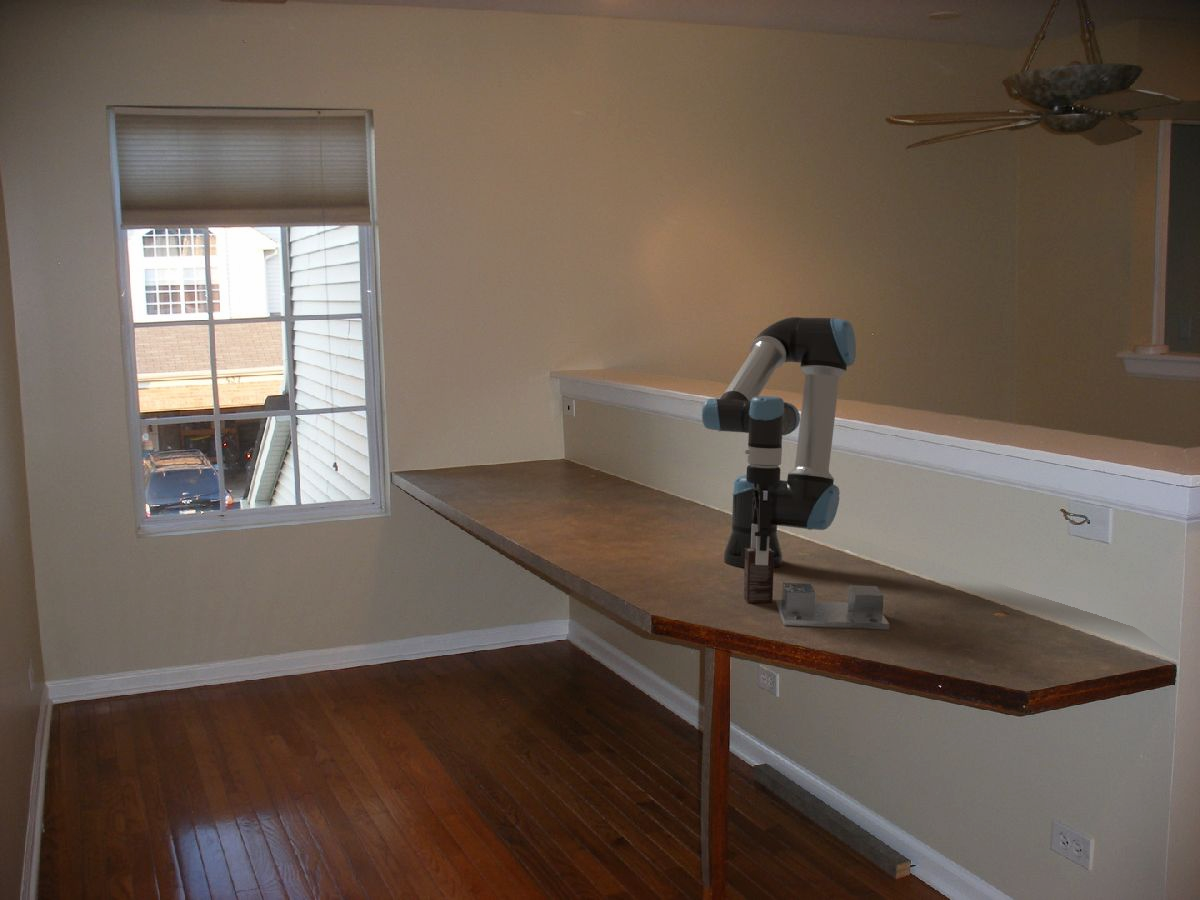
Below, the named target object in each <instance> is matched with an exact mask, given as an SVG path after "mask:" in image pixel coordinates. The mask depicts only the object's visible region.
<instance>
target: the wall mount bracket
mask: <svg viewBox="0 0 1200 900" xmlns="http://www.w3.org/2000/svg"><path fill="white" fill-rule="evenodd" d="M781 597H782V598H781V599H776V607H777V610H778V612H779V615H780V618H781V620H782V623H783V625H784V626H789V627H792V626H793V627H795V626H796V627H819V628H820V627H821V628H823V627H824V628H843V629H865V630H867V629H870V630H890V623H889V621H888V620H887V619H886V617H885V615H884V614H883V611H884V609H883V608H884V594H883V593H882V591H881V590H880V588H879V587H878V586H877V585H857V584H856V585H854V584H853V585H852V584H849V585H848V598H847V599H848V600H847V602H846V601H844V602H843V601H820V600H819V601H818V600H817V601H816V592H815V590H814V588H813V586H812V584H811V583H805V582H804V583H803V582H802V583H801V582H800V583H799V582H798V583H797V582H783V583H782V595H781Z"/></svg>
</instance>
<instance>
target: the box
mask: <svg viewBox="0 0 1200 900" xmlns="http://www.w3.org/2000/svg"><path fill="white" fill-rule="evenodd" d="M755 562H756V548H745V567H744V575H743V576H744V577H743V578H744V579H743V599H744V600H745V602H746V603H748V604H751V603H753V604H754V603H755V604H756V603H773V596H774V594H773V592H774V591H773V590H774V568H775V567H774V551H773V550H772V549H771V548H769V556H768V565H756V564H755Z"/></svg>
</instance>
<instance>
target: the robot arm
mask: <svg viewBox="0 0 1200 900" xmlns="http://www.w3.org/2000/svg"><path fill="white" fill-rule="evenodd" d="M856 354H857V345H856V335H855V331H854V328H853V325H852V323H851V322H850V321H849V320H846V319H842V318H833V317H798V316H793V317H787V318H784V319H780V320H778V321H776V322H773V324H771V325H769V326H767V327H766V328H764V330H762V331H761V332H760V333H759V334H757V336H756V337H755V339H754V340H753V341H752V343H751V345H750V350H749V355H748V357H746V359H745V360H744V362H743V364H742V365H741V366H740V368H739V369H738V371H737V373H736V374H735V376H734V377H733V379H732V381H731V382H730V384H728V386H727V387H726V389H725V391H724V392H723V394H722V395H721V397H720V398H718V397H714V398H707V399H705V401H704V403H703V406H702V411H701V419H702V421H701V422H702V424H703V426H704V428H705V429H707V430H711V431H718V432H730V433H731V432H732V433H746V434H748V441H747V446H748V448H747V449H745V450H744V454H745V455H747V464H749V465H747V467H746V474H744V475H740V476H738V477H737V478H736V479H735V480H734V483H733V492H732V513H731V514H732V518H731V533H730V536H729V539H728V541H727V544H726V546H725V549H724V552H723V561H724V563H726V564H728V565H731V566H734V567H739V568H740V567H741V568H745V548H756V562H755V564H756V565H768V556H769V548H771V549H772V550H773V551H774V568H776V567H780V566H781V565H783V552H782V549H781V545H780V542H779V539H778V526H779V527H780V526H781V527H786V528H787V527H788V528H797V529H806V530H810V531H812V530H816V531H819V530H820V531H824V530H826V529H828V528H829V527H830V526H831V525H832V523H833V522H834V520H835V517H836V514H837V512H838V508H839V504H840V488H839V486H837V485H835V484H834V482H835V481H834V480H835V478H834V477H833V476H832V474H831V473H830V464H831V454H832V444H833V439H834V437H833V435H834V428H835V419H836V411H837V402H838V392H839V383H840V379H841V378H842V377H844V376H845V375H846V374H847V368H848V367H850V366H853V365H854V363H855V359H856V356H857V355H856ZM785 363H800V370H801V372H802V373H803V374H804V376H805V377H804V384H803V385H804V386H803V394H802V403H801V412H799V410H798V408H797V407H796V406H795V405H794V404H792V403H789V402H787V401H785V400H784V399H783V398H781V397H778V396H770V395H769V396H768V395H767V396H766V395H764V396H763V395H761V396H760V394H761V393H762V391H763V389H764V388H765V386H766V385H767V384H768V382H769V380H770V379H771V377H772V375H773V374H774V372H775V371H776V370H777V369H779V368H781V367H782V366H783V365H784V364H785ZM784 401H785V402H784ZM798 427H799V428H798ZM797 428H798V437H797V447H796V454H795V462H794V463H795V464H794V466H793V468H792V469H791V470H790V471H789V472H788V473H787V480H781V468H780V467H779V466H781V464H782V455H783V453H782V451H783V445H782V444H783V443H782V442H783V436H787V435H789V434H791V433H792V432H794V431H796V429H797Z"/></svg>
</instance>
